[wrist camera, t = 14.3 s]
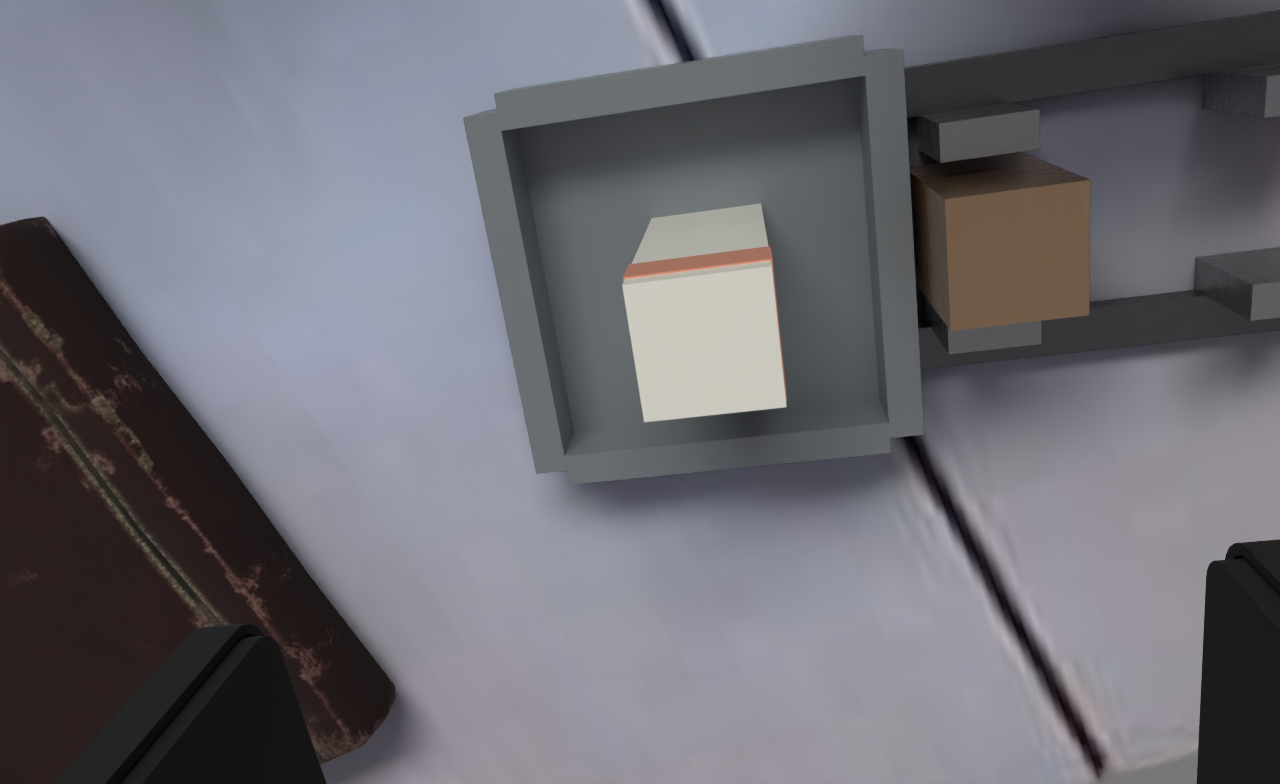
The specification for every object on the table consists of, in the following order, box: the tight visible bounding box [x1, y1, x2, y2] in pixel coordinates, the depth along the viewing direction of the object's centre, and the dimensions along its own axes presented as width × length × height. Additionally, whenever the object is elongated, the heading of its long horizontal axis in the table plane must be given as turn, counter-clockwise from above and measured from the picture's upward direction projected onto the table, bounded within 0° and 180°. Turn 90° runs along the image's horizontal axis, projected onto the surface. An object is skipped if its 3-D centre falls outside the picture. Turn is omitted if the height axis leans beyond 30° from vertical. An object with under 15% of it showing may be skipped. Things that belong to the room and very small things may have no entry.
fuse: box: [622, 204, 787, 422], centre depth 31 cm, size 4×4×10 cm
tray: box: [463, 36, 924, 485], centre depth 34 cm, size 14×14×3 cm
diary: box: [0, 217, 395, 784], centre depth 41 cm, size 19×25×5 cm
